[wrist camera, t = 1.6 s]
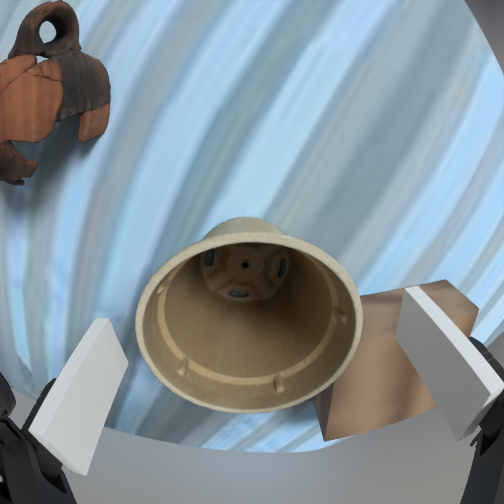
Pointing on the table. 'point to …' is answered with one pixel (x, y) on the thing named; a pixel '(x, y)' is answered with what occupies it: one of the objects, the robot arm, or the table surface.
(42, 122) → the broken clay jug
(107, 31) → the table surface
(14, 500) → the robot arm
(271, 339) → the flower pot
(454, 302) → the walnut stand
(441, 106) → the table surface
